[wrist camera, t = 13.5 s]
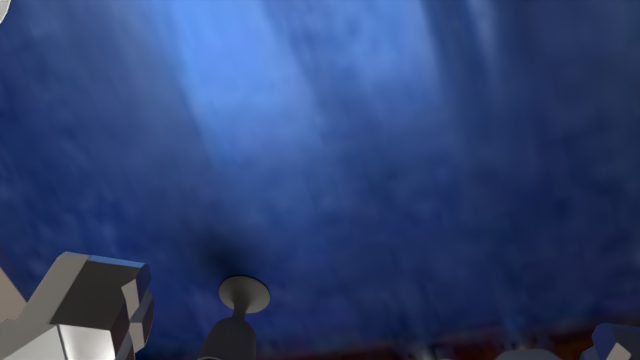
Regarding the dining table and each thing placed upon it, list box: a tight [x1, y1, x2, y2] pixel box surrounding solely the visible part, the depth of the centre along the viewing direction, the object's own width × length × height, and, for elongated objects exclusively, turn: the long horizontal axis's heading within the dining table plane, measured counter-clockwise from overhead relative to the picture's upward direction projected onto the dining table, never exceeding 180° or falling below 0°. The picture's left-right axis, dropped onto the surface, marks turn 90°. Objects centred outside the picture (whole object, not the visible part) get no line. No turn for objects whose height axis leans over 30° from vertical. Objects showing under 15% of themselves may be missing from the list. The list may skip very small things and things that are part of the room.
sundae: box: [196, 276, 270, 360], centre depth 50 cm, size 7×7×15 cm
